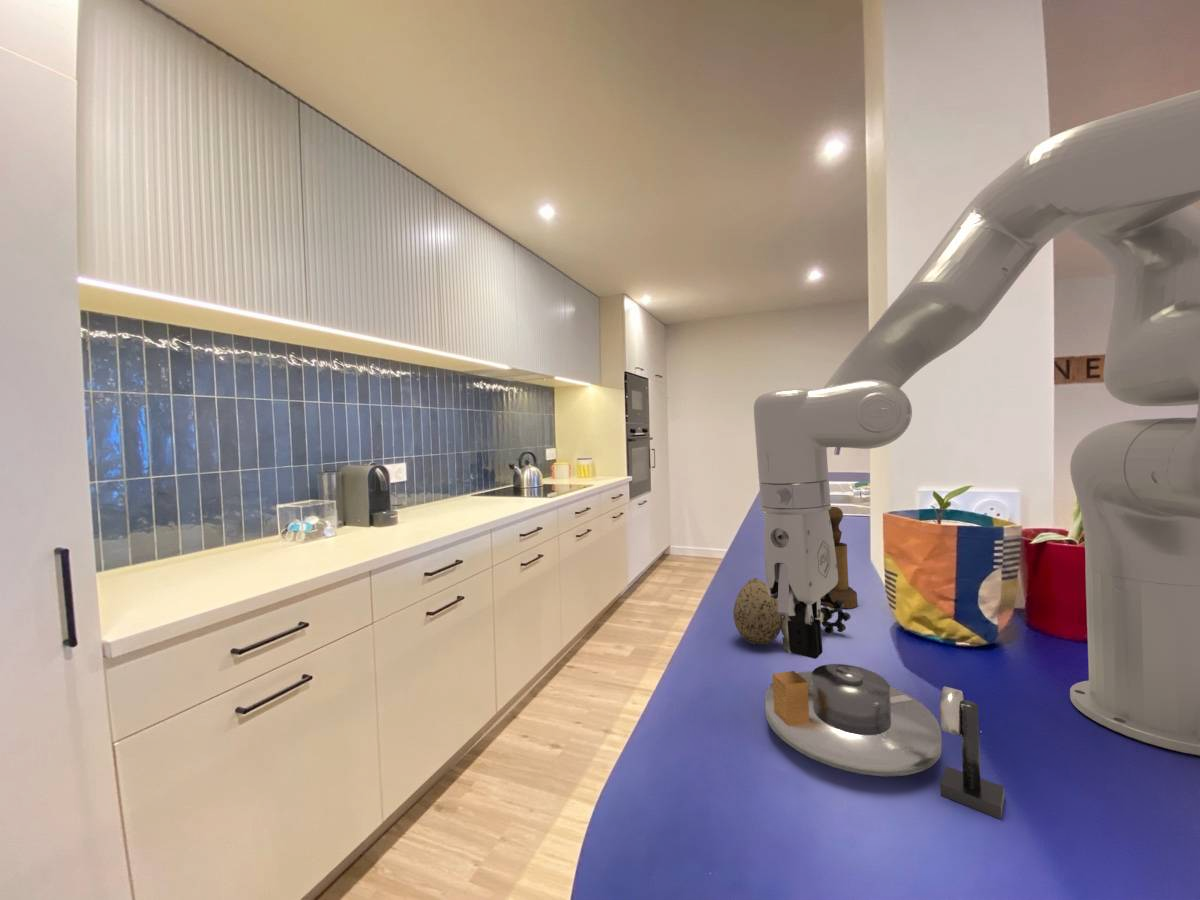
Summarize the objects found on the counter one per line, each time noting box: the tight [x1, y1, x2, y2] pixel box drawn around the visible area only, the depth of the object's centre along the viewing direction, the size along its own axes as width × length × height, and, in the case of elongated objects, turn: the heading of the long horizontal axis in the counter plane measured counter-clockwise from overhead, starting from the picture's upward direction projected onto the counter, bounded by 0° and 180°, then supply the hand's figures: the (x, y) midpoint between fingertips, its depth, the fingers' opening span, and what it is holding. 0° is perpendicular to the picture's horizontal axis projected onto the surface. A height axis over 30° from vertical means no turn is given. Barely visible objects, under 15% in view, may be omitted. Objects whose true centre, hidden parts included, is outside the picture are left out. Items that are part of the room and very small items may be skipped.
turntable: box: [764, 670, 942, 777], centre depth 49 cm, size 16×16×6 cm
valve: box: [780, 591, 851, 654], centre depth 72 cm, size 7×7×12 cm
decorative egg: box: [732, 577, 783, 646], centre depth 73 cm, size 7×7×10 cm
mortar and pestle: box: [821, 506, 858, 609], centre depth 88 cm, size 7×6×18 cm
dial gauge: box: [939, 686, 1005, 820], centre depth 40 cm, size 4×4×9 cm
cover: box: [812, 663, 891, 735], centre depth 48 cm, size 7×7×4 cm
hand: (806, 653), depth 55 cm, fingers closed
